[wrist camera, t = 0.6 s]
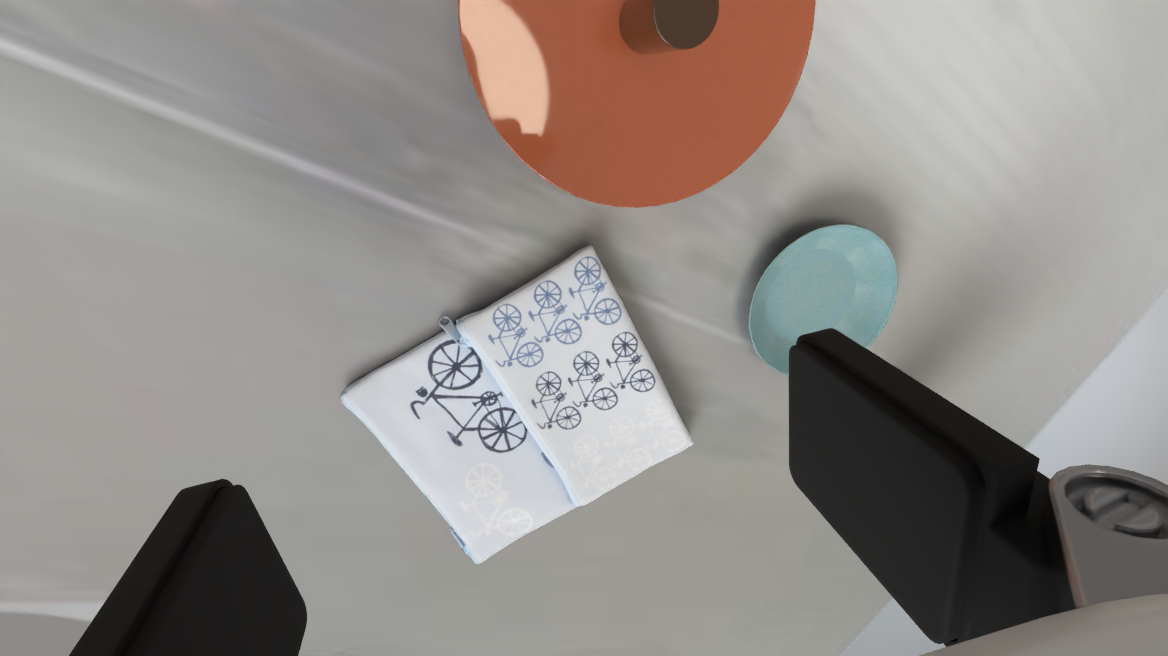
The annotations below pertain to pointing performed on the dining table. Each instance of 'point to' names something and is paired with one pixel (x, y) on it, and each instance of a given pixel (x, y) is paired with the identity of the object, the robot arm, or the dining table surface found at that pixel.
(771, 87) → the lid
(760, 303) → the saucer
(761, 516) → the dining table surface
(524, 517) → the white flat patterned piece
